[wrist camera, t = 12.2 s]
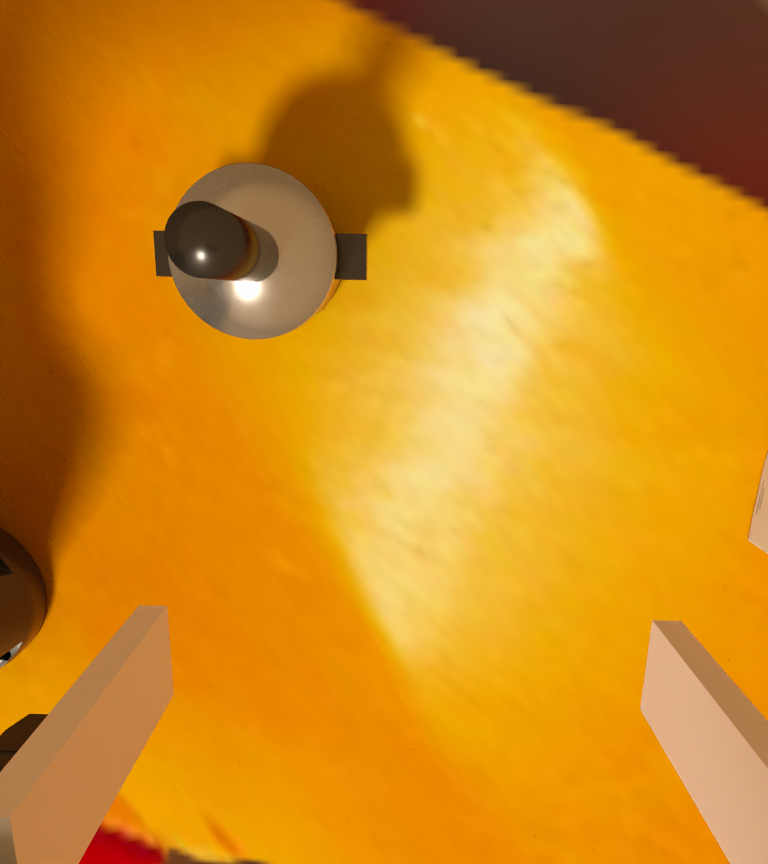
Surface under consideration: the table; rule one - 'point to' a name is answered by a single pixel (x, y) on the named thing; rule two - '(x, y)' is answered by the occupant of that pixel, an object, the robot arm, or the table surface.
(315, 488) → the table surface
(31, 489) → the table surface
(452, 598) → the table surface
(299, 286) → the lid
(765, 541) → the ink box
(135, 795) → the table surface
